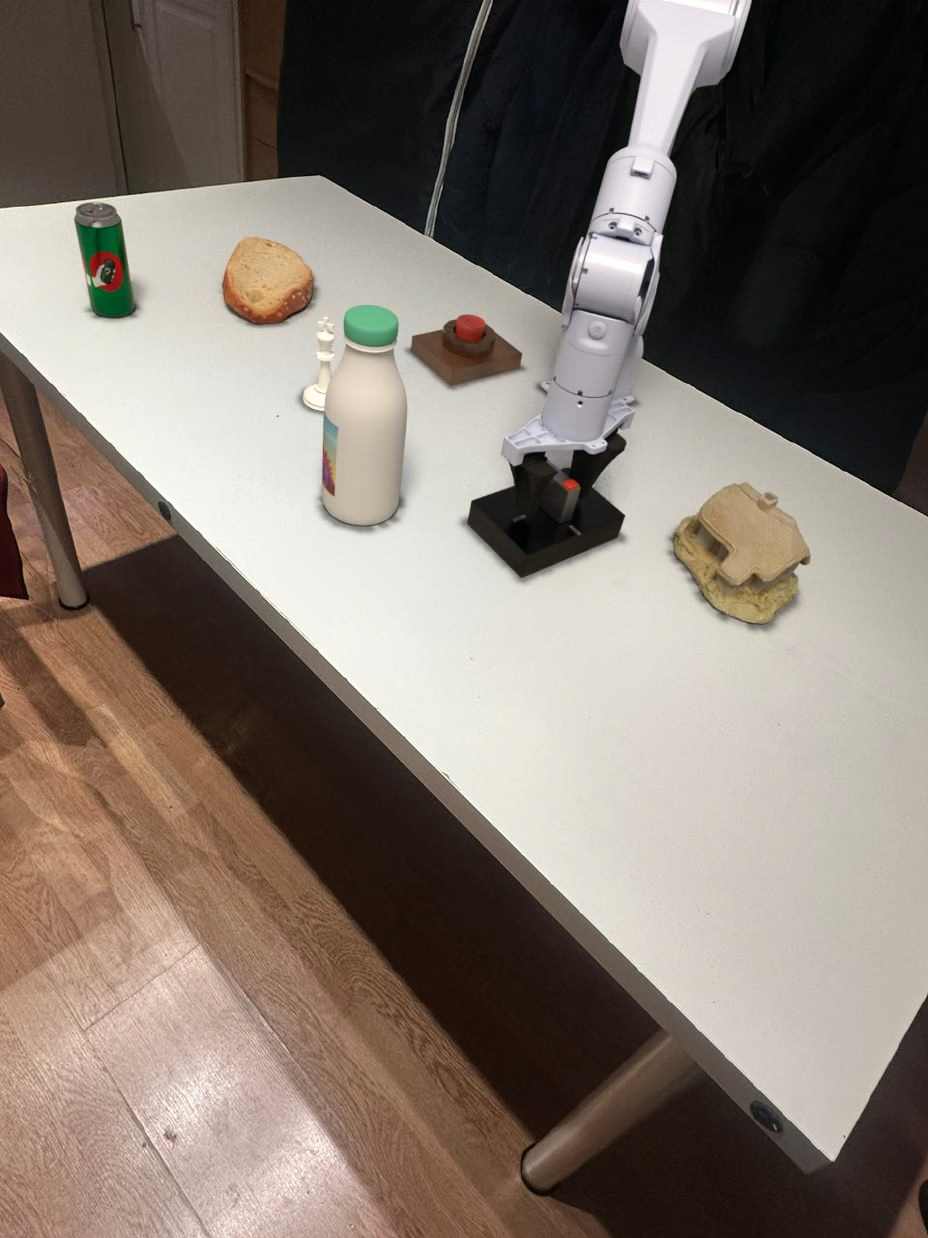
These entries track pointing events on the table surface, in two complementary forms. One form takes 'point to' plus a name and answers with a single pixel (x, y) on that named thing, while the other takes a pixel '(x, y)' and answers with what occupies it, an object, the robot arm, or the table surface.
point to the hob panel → (542, 529)
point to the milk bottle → (364, 421)
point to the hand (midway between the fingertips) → (550, 502)
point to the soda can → (104, 259)
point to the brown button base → (465, 354)
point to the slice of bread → (266, 281)
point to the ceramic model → (743, 552)
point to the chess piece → (321, 367)
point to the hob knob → (560, 496)
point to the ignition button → (470, 327)
